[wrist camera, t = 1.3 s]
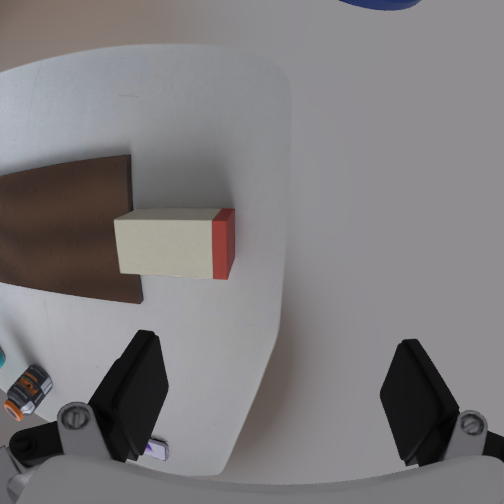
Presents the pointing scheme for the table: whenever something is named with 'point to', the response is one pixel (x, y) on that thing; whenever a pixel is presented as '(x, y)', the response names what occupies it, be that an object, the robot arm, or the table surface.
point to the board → (67, 229)
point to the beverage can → (1, 358)
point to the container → (176, 242)
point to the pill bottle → (27, 392)
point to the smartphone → (157, 450)
